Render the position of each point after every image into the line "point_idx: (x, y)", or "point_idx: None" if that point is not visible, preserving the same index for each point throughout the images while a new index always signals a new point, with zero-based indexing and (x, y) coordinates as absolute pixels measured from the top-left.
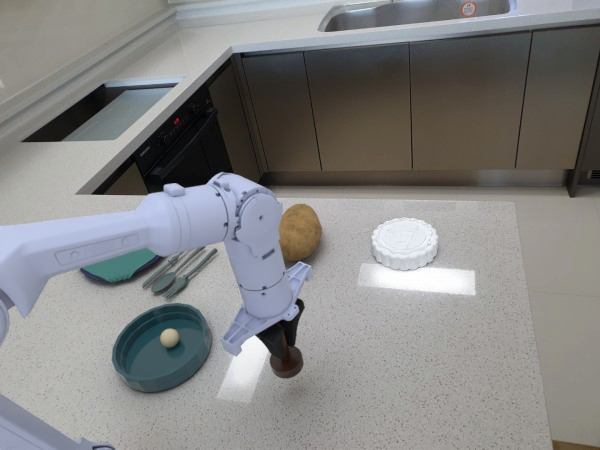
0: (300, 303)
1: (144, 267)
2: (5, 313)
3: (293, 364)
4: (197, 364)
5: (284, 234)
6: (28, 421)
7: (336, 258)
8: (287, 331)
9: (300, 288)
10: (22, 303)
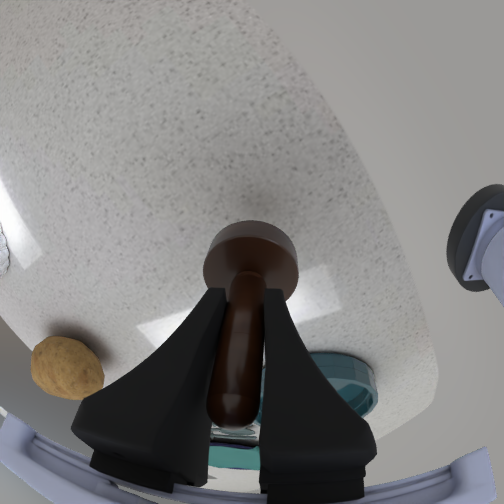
0: (86, 436)
1: (237, 446)
2: None
3: (254, 248)
4: (314, 361)
5: (73, 393)
6: None
7: (45, 302)
8: (207, 351)
9: (48, 483)
10: None
